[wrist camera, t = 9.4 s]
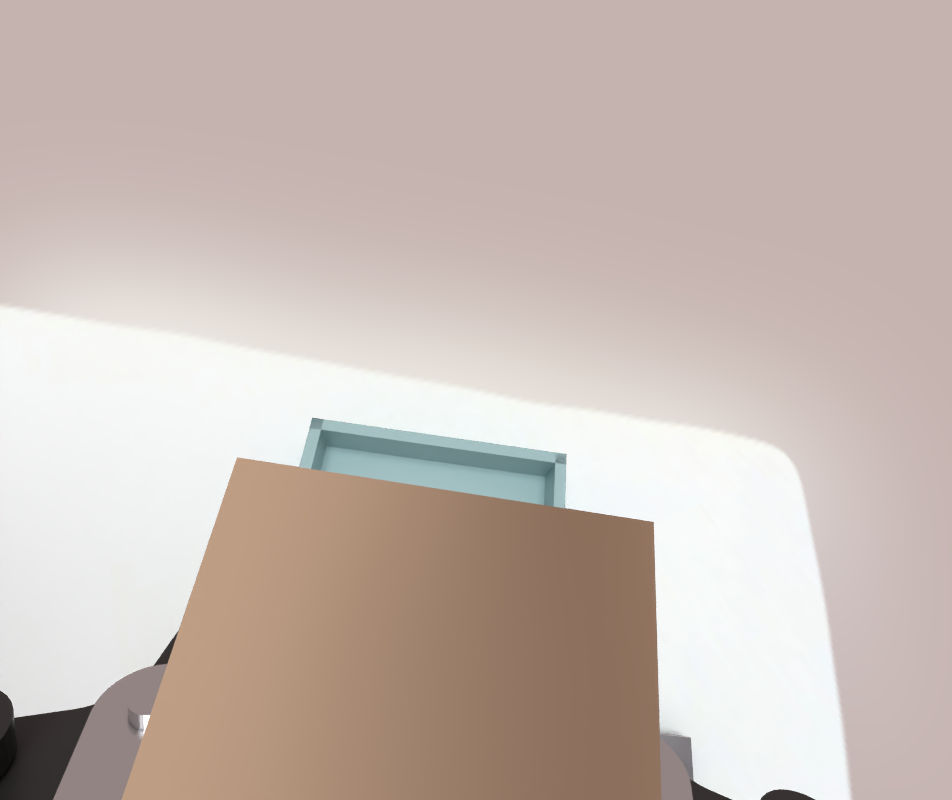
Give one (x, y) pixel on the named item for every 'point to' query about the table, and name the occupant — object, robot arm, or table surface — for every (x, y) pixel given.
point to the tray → (436, 462)
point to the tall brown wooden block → (408, 650)
